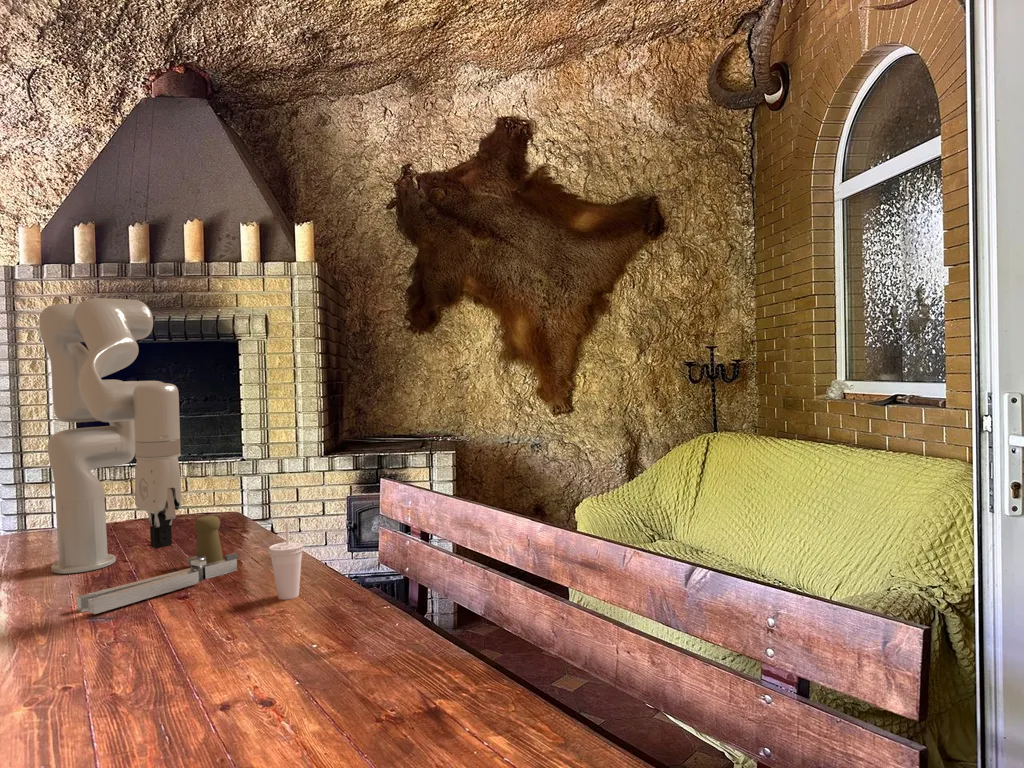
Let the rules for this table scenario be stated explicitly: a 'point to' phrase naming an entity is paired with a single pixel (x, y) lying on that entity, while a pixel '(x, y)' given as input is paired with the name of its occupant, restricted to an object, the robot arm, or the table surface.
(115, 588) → the tongs fixed
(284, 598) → the smoothie
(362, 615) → the table surface
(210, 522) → the olive pepper mill
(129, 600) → the tongs jaw
